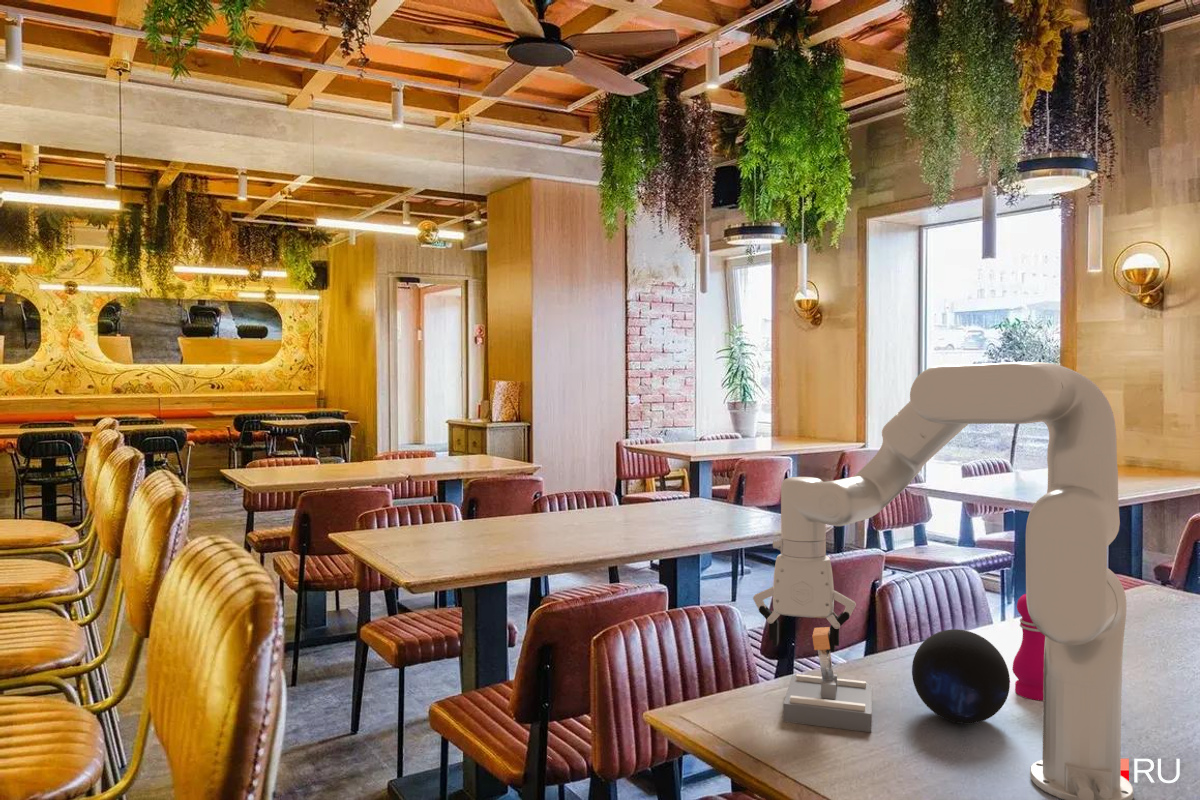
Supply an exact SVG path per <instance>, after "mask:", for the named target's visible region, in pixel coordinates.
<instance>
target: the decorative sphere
mask: <svg viewBox="0 0 1200 800" xmlns="http://www.w3.org/2000/svg"><path fill="white" fill-rule="evenodd" d="M1007 665H1008V664H1007V663H1006V661H1005V659H1004V657H1003V655H1002V654H1001V652H1000V651H999V650H998V649H997V647H995V645H994V644H992V642H990V641H989V640H988V639H986V638H985V637H983V636H981V635H979V634H977V633H974V632H972V631H969V630H965V629H958V628H957V629H956V628H955V629H953V628H951V629H945V630H942V631H938V632H936V633H933V634H932V635H930V636H928V637H927V638H926V639H925V640H924V641H922V643H921V644H920V645H919V646H918V648H917V650H916V651H915V653H914V656H913V660H912V665H911V676H912V682H913V686H914V688H915V690H916V693H917V695H918V696H919V698H920V700H921V701H922V702H923V704H924V705H925V706H926V707H927V708H928V709H929V710H930V711H932V712H933V713H934V714H935V715H937V716H939V717H940V718H943V719H944V720H946V721H949V722H953V723H957V724H963V725H964V724H965V725H966V724H968V725H969V724H970V725H971V724H976V723H981V722H984V721H986V720H989V719H991V717H993V716H995V715H996V714H997V713H998V712H999V711H1000V710H1001V709H1002V708H1003V706H1004V704H1005V703H1006V701H1007V699H1008V696H1009V693H1010V687H1011V680H1010V679H1011V678H1010V673H1009V668H1008V666H1007Z"/></svg>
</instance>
